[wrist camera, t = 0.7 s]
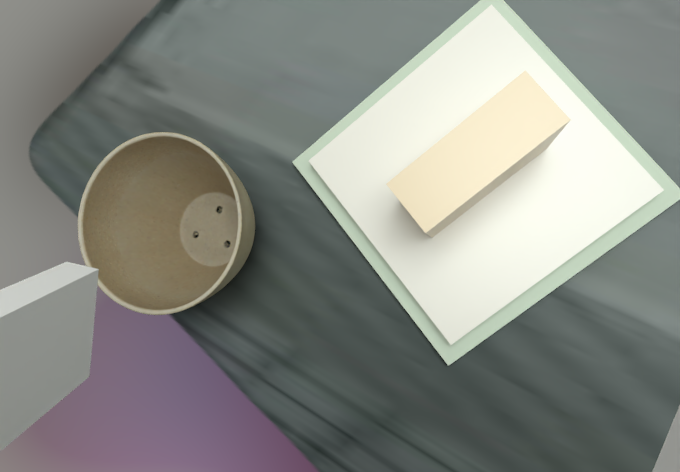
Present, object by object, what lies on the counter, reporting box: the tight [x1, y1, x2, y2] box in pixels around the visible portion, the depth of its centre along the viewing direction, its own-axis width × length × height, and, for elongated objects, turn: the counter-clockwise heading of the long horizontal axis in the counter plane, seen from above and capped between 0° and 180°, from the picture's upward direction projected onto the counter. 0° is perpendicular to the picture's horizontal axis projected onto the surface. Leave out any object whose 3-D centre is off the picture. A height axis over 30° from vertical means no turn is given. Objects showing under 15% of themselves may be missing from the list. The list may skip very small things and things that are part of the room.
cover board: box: [309, 4, 664, 345], centre depth 26 cm, size 14×14×7 cm
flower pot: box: [78, 132, 255, 315], centre depth 30 cm, size 10×10×7 cm
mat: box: [293, 0, 680, 366], centre depth 29 cm, size 16×16×1 cm
